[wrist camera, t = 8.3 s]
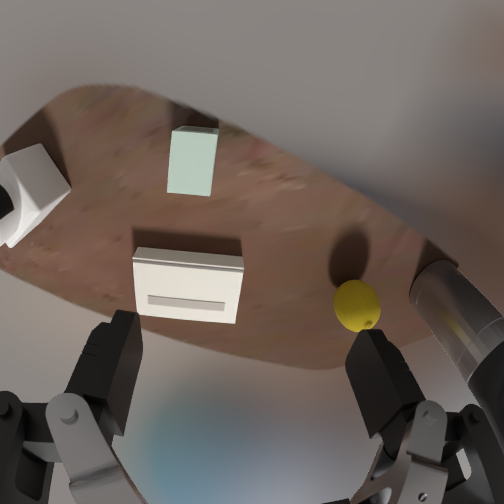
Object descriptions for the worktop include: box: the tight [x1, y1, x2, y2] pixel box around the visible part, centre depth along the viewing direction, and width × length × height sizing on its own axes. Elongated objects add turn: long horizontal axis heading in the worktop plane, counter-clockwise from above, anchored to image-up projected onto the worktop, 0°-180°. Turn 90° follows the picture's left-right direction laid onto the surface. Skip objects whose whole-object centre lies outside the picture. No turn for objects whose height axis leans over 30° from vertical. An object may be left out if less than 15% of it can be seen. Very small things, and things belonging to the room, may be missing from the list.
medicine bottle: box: [0, 143, 71, 248], centre depth 20 cm, size 7×7×12 cm
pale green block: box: [167, 126, 219, 196], centre depth 24 cm, size 4×5×6 cm
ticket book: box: [133, 247, 244, 323], centre depth 33 cm, size 12×8×2 cm, turn 81°
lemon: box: [333, 280, 381, 332], centre depth 33 cm, size 6×6×8 cm
